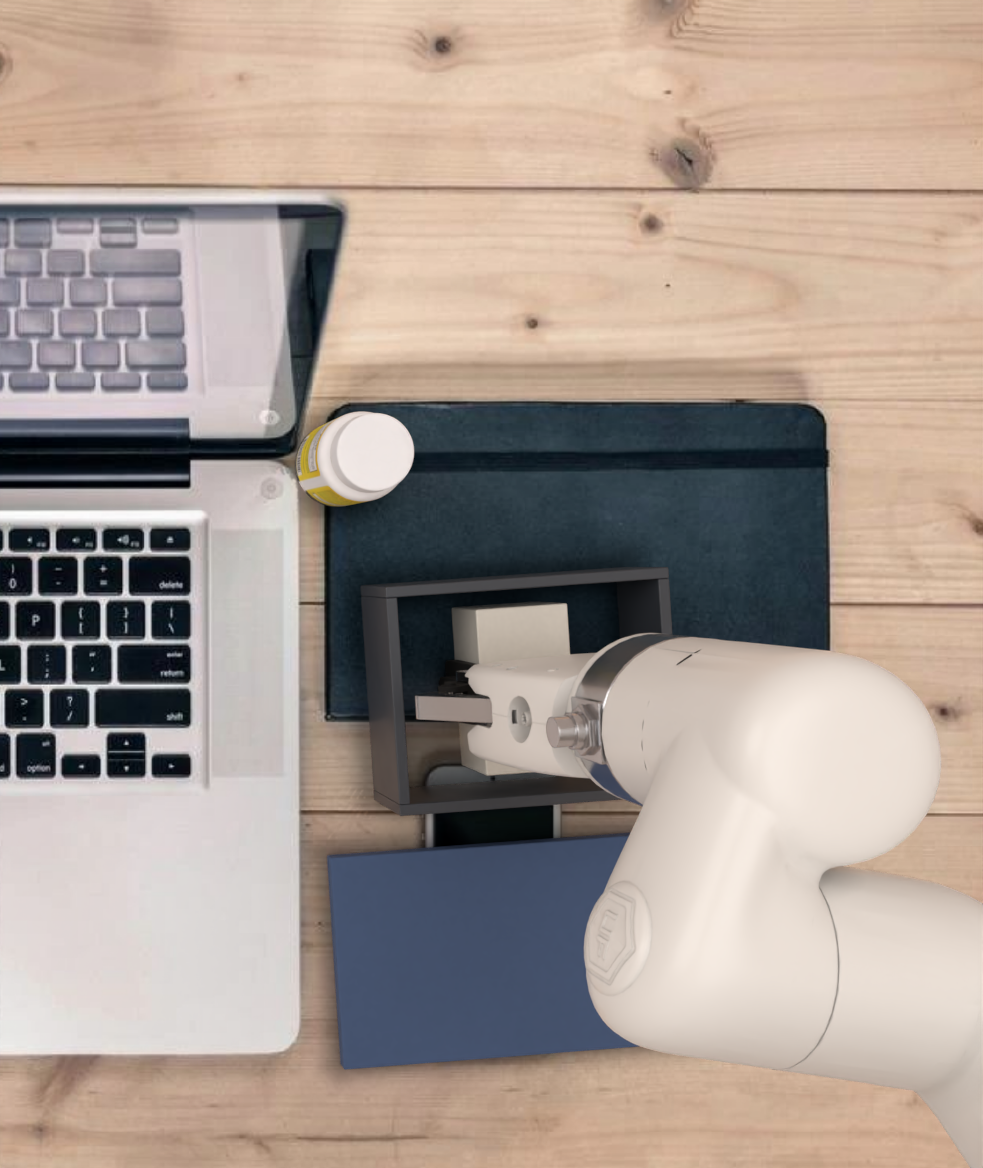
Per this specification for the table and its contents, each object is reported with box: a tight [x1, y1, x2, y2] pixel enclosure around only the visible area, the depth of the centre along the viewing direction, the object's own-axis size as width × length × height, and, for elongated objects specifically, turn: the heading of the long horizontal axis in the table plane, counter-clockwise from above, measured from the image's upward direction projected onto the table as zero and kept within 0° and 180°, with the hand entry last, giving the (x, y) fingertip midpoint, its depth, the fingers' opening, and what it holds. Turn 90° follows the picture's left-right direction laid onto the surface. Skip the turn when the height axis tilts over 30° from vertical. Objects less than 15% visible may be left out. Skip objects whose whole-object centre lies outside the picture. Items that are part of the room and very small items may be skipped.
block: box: [451, 600, 571, 777], centre depth 73 cm, size 9×5×4 cm, turn 4°
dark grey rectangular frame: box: [359, 566, 673, 817], centre depth 73 cm, size 12×15×6 cm
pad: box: [326, 831, 641, 1071], centre depth 75 cm, size 12×20×2 cm, turn 94°
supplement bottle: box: [294, 411, 415, 508], centre depth 71 cm, size 5×5×8 cm
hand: (503, 684), depth 75 cm, fingers closed on block, 5 cm apart
